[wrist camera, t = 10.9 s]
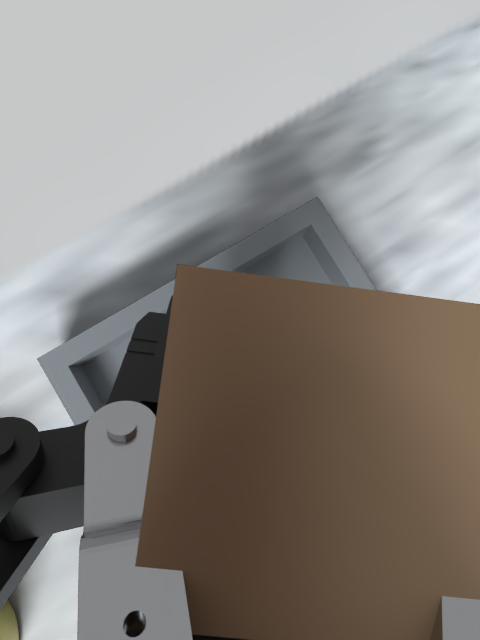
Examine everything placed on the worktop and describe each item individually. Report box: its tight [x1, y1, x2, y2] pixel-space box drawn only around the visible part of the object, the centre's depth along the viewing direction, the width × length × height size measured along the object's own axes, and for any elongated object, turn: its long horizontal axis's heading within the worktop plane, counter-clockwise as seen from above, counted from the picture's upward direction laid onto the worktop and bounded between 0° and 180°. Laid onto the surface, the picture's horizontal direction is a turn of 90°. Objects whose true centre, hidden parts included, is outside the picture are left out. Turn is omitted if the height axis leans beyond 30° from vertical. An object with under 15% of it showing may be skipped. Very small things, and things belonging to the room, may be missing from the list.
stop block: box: [129, 264, 480, 640], centre depth 10 cm, size 4×4×10 cm
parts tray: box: [37, 197, 377, 425], centre depth 21 cm, size 15×12×3 cm
